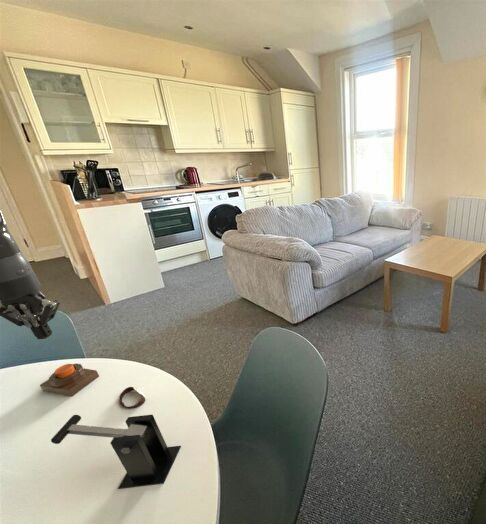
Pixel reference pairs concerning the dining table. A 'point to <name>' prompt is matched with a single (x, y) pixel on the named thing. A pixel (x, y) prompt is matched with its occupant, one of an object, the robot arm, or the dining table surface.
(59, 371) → the button
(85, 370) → the button block
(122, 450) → the bracket
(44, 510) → the dining table surface
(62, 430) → the lever
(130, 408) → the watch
